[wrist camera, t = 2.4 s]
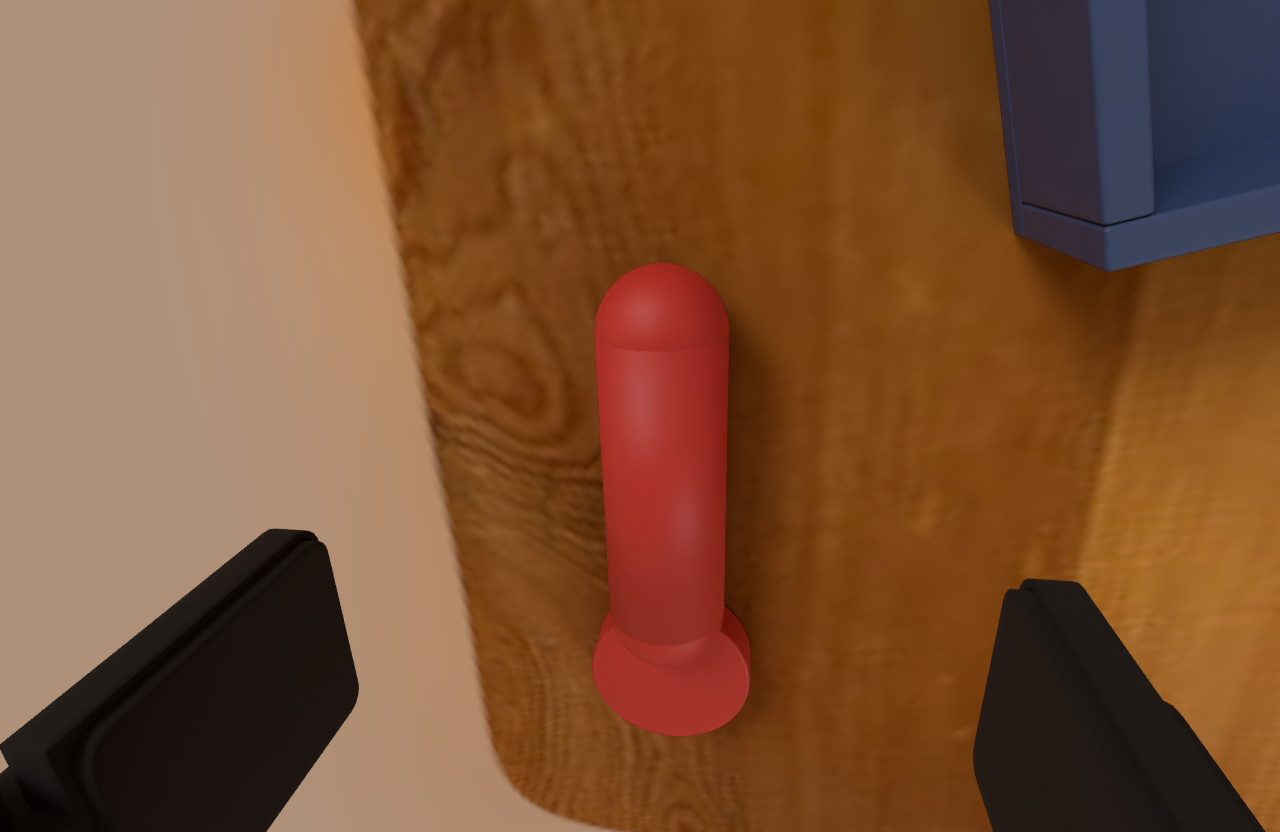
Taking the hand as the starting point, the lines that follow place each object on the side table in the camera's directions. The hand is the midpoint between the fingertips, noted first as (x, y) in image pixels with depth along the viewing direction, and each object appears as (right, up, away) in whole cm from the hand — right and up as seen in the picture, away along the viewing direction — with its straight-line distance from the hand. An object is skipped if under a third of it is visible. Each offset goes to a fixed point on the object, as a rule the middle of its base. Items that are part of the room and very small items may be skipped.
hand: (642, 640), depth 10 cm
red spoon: (+1, +1, +6) cm, 6 cm away
